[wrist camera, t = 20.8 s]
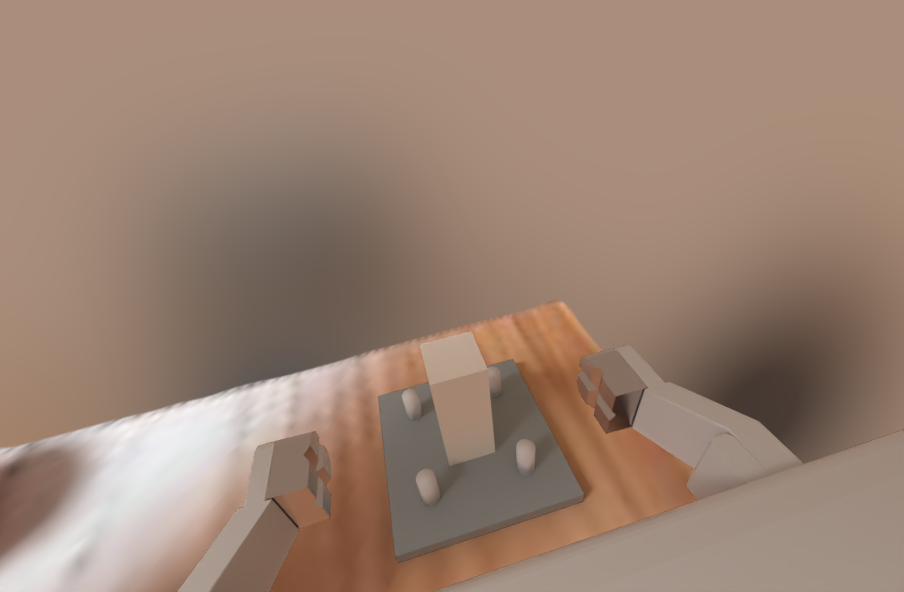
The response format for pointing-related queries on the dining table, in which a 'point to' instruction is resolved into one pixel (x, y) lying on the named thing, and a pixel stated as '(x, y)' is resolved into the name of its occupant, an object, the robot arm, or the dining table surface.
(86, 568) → the dining table surface
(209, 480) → the dining table surface
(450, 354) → the cream post
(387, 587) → the dining table surface
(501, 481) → the peg cradle
